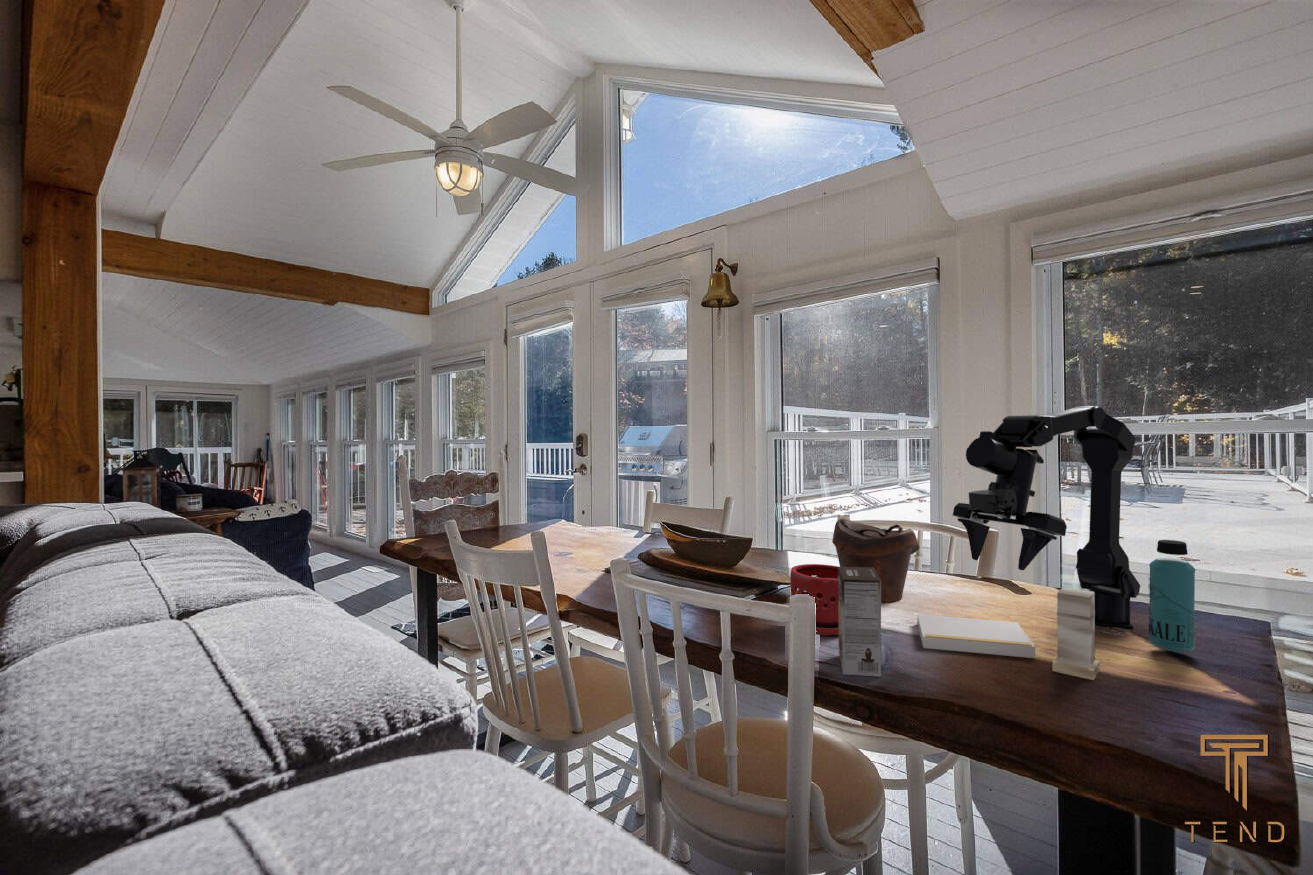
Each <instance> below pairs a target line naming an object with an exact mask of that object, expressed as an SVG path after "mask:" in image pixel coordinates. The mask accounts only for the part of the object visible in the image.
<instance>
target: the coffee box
mask: <svg viewBox="0 0 1313 875" xmlns="http://www.w3.org/2000/svg"><path fill="white" fill-rule="evenodd" d="M838 618H839V634H838V655H839V660H840V665H841V671H842V674H843V675H845V676H846V675H847V676H866V677H876V678H877V677H882V602H881V580H880V578H879V576H878V574H877V572H876V570H875V568H874V567H840V566H838Z"/></svg>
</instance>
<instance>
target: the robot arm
mask: <svg viewBox="0 0 1313 875" xmlns="http://www.w3.org/2000/svg"><path fill="white" fill-rule="evenodd" d="M1070 432H1073V436H1072V437H1073V439H1074V440H1076V442H1077V443H1078V444H1079V445H1080V447H1081V456H1082V458H1083V461H1085V463H1086V465H1087V466H1088V467H1089V469H1090V471H1091V472H1090V473H1091V474H1090V504H1089V530H1088V531H1089V533H1088V534H1089V535H1088V536H1089V538H1088V541H1087V543H1086V544H1085V545H1084V546H1083V548H1078V550H1077V551H1076V559H1077V560H1076V565H1075V569H1076V574H1077V578H1078V582H1079V585H1080V589H1081V590H1088V591H1092V592H1095V625H1097V626H1109V627H1119V628H1120V627H1123V628H1134V627H1135V625H1134V623H1132V622H1131V598H1132V599H1137V596H1139V594H1140V590H1141V584H1140V583H1139V581H1138V579H1137V578H1136V577H1135V575H1134V574H1133V572H1132V571H1131V570H1130V559H1129V556H1128V555H1127V554H1126V551H1124V549H1123V547H1122V546H1121V544H1120V530H1121V529H1120V522H1121V521H1120V520H1121V496H1122V494H1121V493H1122V491H1121V490H1122V472H1123V470H1124V469H1125V468H1126V467H1127V465H1128V464H1129V463H1130V462H1131V460H1132V458H1133V453H1134V452H1133V450H1134V447H1135V445H1136V439H1135V436H1134V434H1133V433H1132V432H1131V430H1130V429H1129V428H1128V427H1127V425H1126V424H1125V423H1124V422H1123V421H1120V420H1118V419H1117V418H1115V417H1113V416H1112V415H1109V414H1108V413H1106V411H1105V410H1104V408H1102V407H1101V406H1100V407H1099V406H1097V405H1085V406H1084V405H1083V406H1074V407H1072V408H1069V409H1065V410H1061V411H1057V412H1051V413H1048V414H1047V413H1046V414H1043V415H1038V414H1036V415H1035V414H1034V415H1030V414H1029V415H1007V416H1004V418H1003V419H1002V423H1000V425H999V426H997V427H996V428H995V430H994V431H987V430H986V431H980V433H979V437H977V438H975V439H974V440H973V441H971V443H970V444H969V446H968V447H967V448H966V451H965V457H966V461H967V463H968V464H969V465H970V466H972V467H974V468H977V469H980V470H982V471H985V472H986V473H990V474H991V475H996V480H995V481H990V483H989V484H988V488H987V489H981V490H974V491H969V492H968V502H969V503H966V502H965V503H964V502H957V504H956V505H955V506H954V507H953V509H952V510H953V512H952V516H953V517H956V518H957V521H958V523H961V524H962V525H963V527H964V528H965V530H966V533H967V537H968V541H969V548H970V549H969V550H970V553H971V554H970V555H971V559H972V560H975V561H979V559H980V556H981V553H982V551H983V549H984V546H985V542H986V540H987V536H988V534H989V531H990V527H991V526H989V525H987V524H988V523H989V522H997V523H1003V524H1010V525H1015V526H1024V527H1025V528H1024V527H1020V531H1021V536H1022V544H1021V548H1020V553H1019V558H1018V566H1017V568H1018V570H1020V571H1025V570H1026V569H1027V567H1028V566H1029V565H1030V564H1031V563H1032V561H1034V559H1035V557H1036V556H1037V555H1038V554H1039V553H1040V552H1041V551H1042V550H1043V549H1044V548H1045V547H1046V546H1047V545H1048V544H1049V543H1050V542H1051V541H1052V540H1054V541H1056V540H1057V538H1058V537H1057V536H1059V537H1060V536H1061V537H1066V533H1067V528H1068V527H1067V523H1066V522H1065V519H1063V518H1060V517H1058V516H1055V515H1052V514H1049V513H1043V512H1035V511H1028V512H1027V510H1028V504H1029V499H1030V498H1031V497H1032V498H1034V497H1035V493H1036V491H1035V490H1031V488H1032V486H1033V485H1032V484H1033V479H1034V475H1035V469H1036V464H1041V465H1043V464H1044V458H1043V456H1041V455H1040V453H1039V451H1038V450H1037V449H1031V448H1033V447H1042V446H1044V445H1047V444H1049V443H1050V442H1051V441H1053V440H1054V437H1055V436H1057V435H1061V434H1065V433H1070ZM1024 448H1027V449H1024ZM1028 448H1029V449H1028ZM1011 517H1014V518H1011ZM1026 527H1028V528H1026Z"/></svg>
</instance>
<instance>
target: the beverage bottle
mask: <svg viewBox="0 0 1313 875" xmlns="http://www.w3.org/2000/svg"><path fill="white" fill-rule="evenodd" d="M1156 552H1157V553H1160V554H1165V555H1174V556H1187V555H1188V546H1187V542H1185V541H1181V540H1173V539H1160V540H1159V539H1158V540H1157V545H1156ZM1148 566H1149V578H1148V580H1149V583H1148V591H1149V595H1148V597H1149V601H1148V603H1149V606H1148V608H1147V609H1148V612H1149V617H1148V639H1149V642H1150V644H1151V645H1152V646H1155V647H1158V648H1160V649H1165V650H1169V651H1175V652H1192V651H1194V650H1195V647H1196V643H1197V642H1196V633H1197V631H1196V614H1195V608H1196V607H1195V601H1196V600H1195V598H1196V597H1195V593H1196V589H1195V586H1196V585H1195V584H1196V577H1195V576H1196V568H1195V567H1194V566H1193V565H1192V564H1190V562H1189V561H1188V560H1184V559H1179V558H1173V557H1158V558H1156V559H1154V560H1153V561H1151V562H1150V563H1149V564H1148Z"/></svg>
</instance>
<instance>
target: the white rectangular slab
mask: <svg viewBox="0 0 1313 875" xmlns="http://www.w3.org/2000/svg"><path fill="white" fill-rule="evenodd" d="M916 620H917V628H918V633H919V636H920V640H921V645H922V648H923V649H931V650H932V649H933V650H942V651H954V652H964V653H974V654H975V653H976V654H987V655H995V656H996V655H997V656H1005V657H1007V656H1008V657H1018V658H1026V659H1036V645H1035V644H1034V643H1033V641H1032V640H1031V639H1030V637H1029V636H1028V635H1027V634H1026V632H1025V631H1024V630H1023V628H1022V627H1021V626H1020V624H1019V623H1018V622H1016V621H1008V620H1007V621H1006V620H1005V621H1004V620H993V619H992V620H990V619H977V618H968V617H967V618H964V617H953V616H939V615H930V614H929V615H928V614H927V615H926V614H917V616H916Z"/></svg>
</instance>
